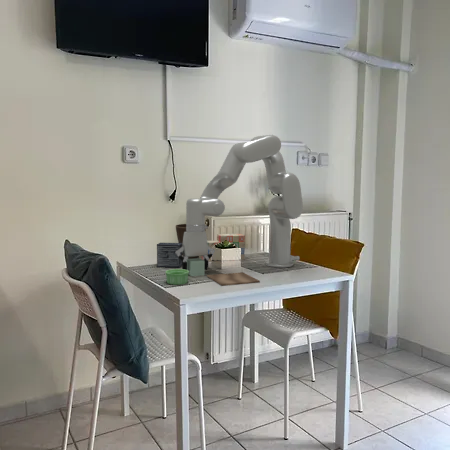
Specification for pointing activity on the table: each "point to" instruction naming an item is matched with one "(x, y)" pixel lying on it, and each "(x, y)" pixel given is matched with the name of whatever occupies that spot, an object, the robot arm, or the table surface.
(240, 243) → the stack of blocks
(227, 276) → the walnut board
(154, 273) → the table surface
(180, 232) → the plant pot
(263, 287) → the table surface
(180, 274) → the ramekin
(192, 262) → the sage cube
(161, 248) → the small box
